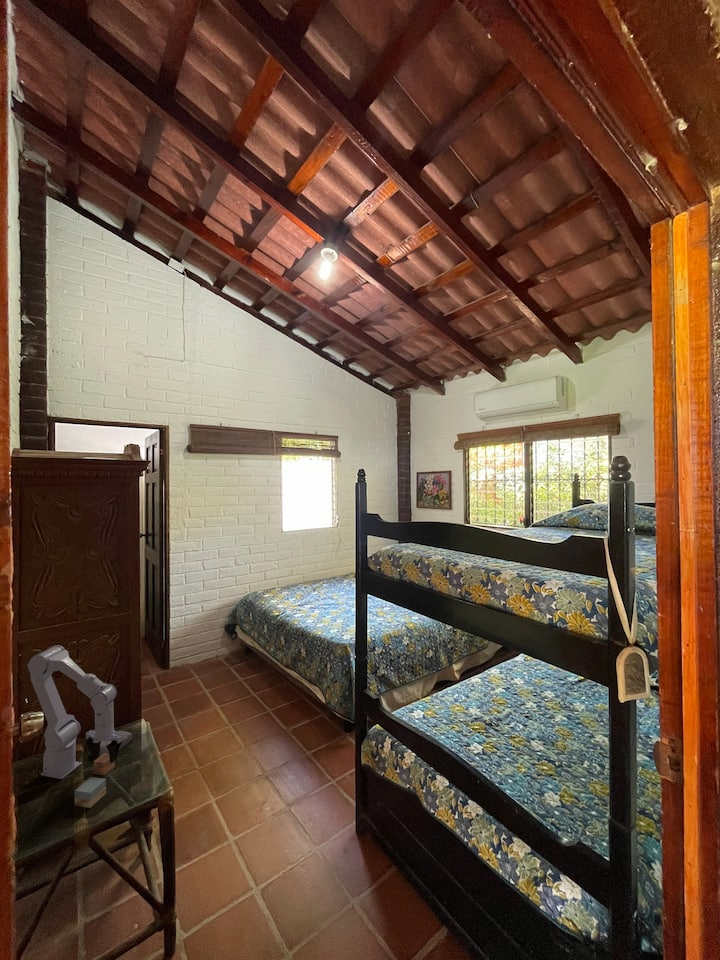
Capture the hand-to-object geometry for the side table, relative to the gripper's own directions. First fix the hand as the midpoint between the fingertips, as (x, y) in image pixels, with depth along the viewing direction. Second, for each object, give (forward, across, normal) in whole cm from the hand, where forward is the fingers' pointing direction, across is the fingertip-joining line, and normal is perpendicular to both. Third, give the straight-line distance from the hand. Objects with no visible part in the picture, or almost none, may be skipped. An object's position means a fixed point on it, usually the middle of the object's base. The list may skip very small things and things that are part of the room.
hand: (104, 759), depth 141 cm
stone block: (+4, -8, +11) cm, 14 cm away
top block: (+2, +7, -12) cm, 14 cm away
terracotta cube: (+4, 0, 0) cm, 4 cm away
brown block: (+4, +7, -12) cm, 15 cm away
